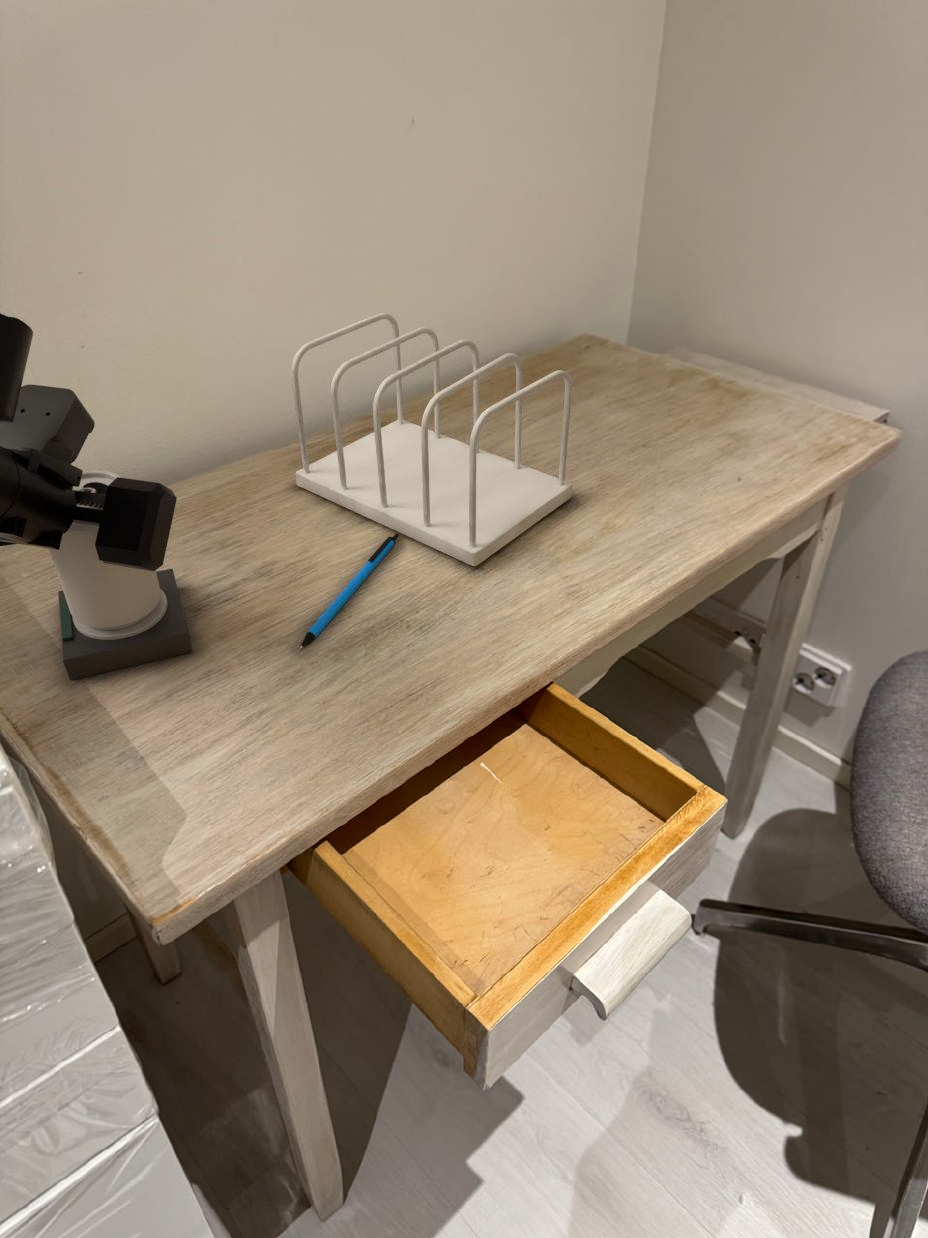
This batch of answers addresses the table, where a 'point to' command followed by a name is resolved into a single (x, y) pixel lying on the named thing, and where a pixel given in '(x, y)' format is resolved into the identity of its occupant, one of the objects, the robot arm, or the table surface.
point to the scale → (125, 636)
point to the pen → (349, 590)
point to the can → (101, 573)
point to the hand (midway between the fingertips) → (109, 535)
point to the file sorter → (434, 461)
